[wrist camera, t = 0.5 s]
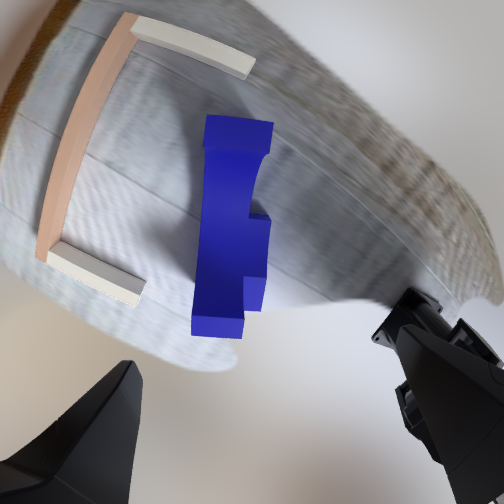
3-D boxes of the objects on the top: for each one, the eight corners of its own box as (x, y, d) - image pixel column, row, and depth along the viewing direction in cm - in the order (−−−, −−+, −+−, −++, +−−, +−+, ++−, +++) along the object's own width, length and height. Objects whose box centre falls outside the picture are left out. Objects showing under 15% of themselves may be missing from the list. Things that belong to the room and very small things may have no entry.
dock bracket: (252, 66, 15) (256, 59, 14) (142, 293, 21) (135, 308, 19) (133, 21, 13) (124, 11, 11) (47, 246, 19) (34, 256, 17)
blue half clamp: (256, 289, 22) (266, 339, 17) (198, 284, 22) (191, 335, 16) (281, 128, 18) (305, 128, 12) (212, 120, 17) (206, 114, 11)
